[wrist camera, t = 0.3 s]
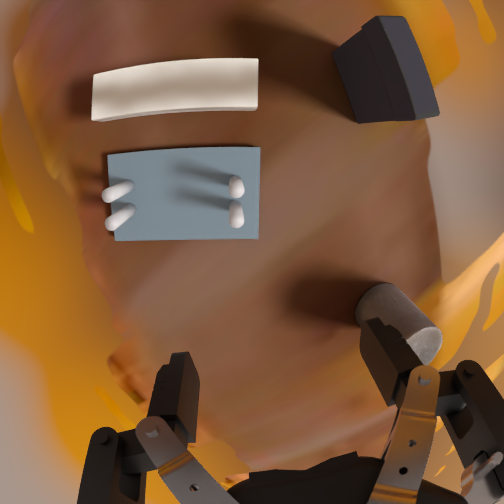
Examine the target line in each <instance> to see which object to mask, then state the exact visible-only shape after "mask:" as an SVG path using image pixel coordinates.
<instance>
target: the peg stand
mask: <svg viewBox="0 0 504 504" xmlns="http://www.w3.org/2000/svg"><path fill="white" fill-rule="evenodd" d="M108 174H109V188H107V189H105V190H104V191H103V192H102V199H103V200H104V201H105V202H106V203H110V202H111V210H112V215H111V216H110V217H108V218H107V219H106V220H105V226H106V228H107V229H108V230H110V231H114V235H115V241H134V240H188V239H258V226H259V184H260V147H201V148H178V149H163V150H150V151H139V152H129V153H120V154H112V155H108Z"/></svg>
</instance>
